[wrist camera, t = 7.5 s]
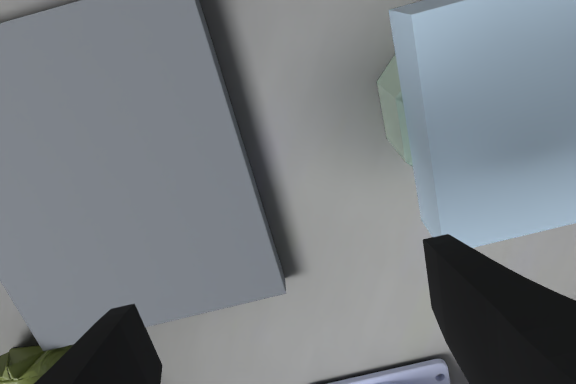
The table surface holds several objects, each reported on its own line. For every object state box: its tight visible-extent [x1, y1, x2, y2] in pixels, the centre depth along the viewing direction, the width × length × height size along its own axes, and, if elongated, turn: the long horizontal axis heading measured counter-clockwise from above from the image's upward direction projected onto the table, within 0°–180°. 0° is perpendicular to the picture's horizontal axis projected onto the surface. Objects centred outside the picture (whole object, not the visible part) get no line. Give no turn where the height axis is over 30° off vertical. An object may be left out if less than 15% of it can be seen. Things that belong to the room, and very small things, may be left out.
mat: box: [0, 0, 286, 352], centre depth 20 cm, size 14×12×1 cm
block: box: [389, 0, 576, 248], centre depth 16 cm, size 8×6×3 cm
